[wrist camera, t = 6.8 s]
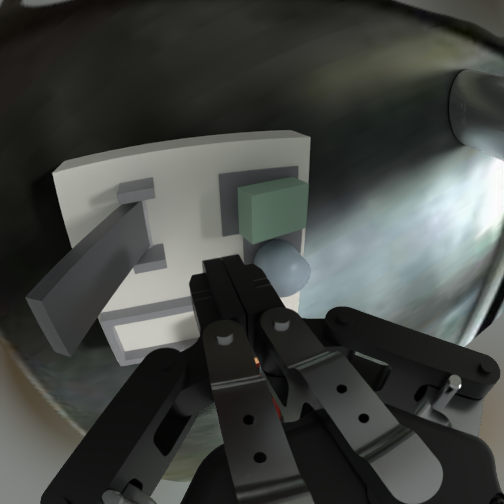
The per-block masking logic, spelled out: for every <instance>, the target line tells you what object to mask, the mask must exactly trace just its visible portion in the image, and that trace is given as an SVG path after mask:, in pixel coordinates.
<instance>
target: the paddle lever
mask: <svg viewBox="0 0 504 504" xmlns="http://www.w3.org/2000/svg"><path fill="white" fill-rule="evenodd" d="M149 246H150V243H149V238H148V233H147V228H146V222H145V217H144V211H143V205H142V201H137V202H132V203H127V204H122V205H120V206H119V207H118V208H117V209H116V210H114V211H113V212H112V213H111V214H110V215H109V216H108V217H106V218H105V219H104V220H103V221H102V222H101V223H100V224H99V225H97V226H96V227H95V228H94V229H93V230H92V231H91V232H90V233H89V234H88V235H86V236H85V237H84V238H83V239H82V240H81V241H80V242H79V243H78V244H77V245H76V246H75V247H74V248H73V249H72V250H71V251H70V252H68V253H67V254H66V255H65V256H64V257H63V258H62V259H61V260H60V261H59V262H58V263H57V264H56V265H55V266H54V267H53V268H52V269H51V270H50V271H49V272H48V273H47V275H46V276H45V277H44V278H43V279H42V280H41V281H40V282H39V283H38V284H37V285H36V286H35V287H34V288H33V289H32V290H31V292H30V293H29V294H28V295H27V296H26V297H25V298H26V300H27V302H28V304H29V306H30V308H31V310H32V312H33V314H34V316H35V318H36V320H37V321H38V323H39V325H40V327H41V329H42V331H43V332H44V334H45V336H46V338H47V339H48V341H49V343H50V345H51V346H52V348H53V350H54V351H55V352H57V353H60V354H63V355H66V356H69V357H72V355H73V354H74V352H75V350H76V349H77V347H78V346H79V344H80V343H81V341H82V340H83V338H84V337H85V335H86V334H87V332H88V331H89V329H90V328H91V326H92V325H93V323H94V322H95V320H96V319H97V317H98V316H99V314H100V313H101V312H102V310H103V309H104V307H105V306H106V304H107V303H108V302H109V300H110V299H111V297H112V296H113V295H114V293H115V292H116V290H117V289H118V288H119V286H120V285H121V284H122V282H123V281H124V279H125V278H126V277H127V275H128V274H129V273H130V271H131V270H132V269H133V267H134V266H135V265H136V263H137V262H138V261H139V259H140V258H141V257H142V256H143V254H144V253H145V252H146V250H147V249H148V248H149Z"/></svg>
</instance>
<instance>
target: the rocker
mask: <svg viewBox="0 0 504 504" xmlns="http://www.w3.org/2000/svg"><path fill="white" fill-rule="evenodd" d="M308 191H309V184H308V183H306V182H304V181H302V180H299V179H297V178H295V177H288V178H283V179H278V180H272V181H267V182H262V183H257V184H252V185H247V186H243V187H238V216H239V234H241V235H242V236H243V237H244V238H245V239H247V240H248V241H249V242H250V243H251V244H255V243H259V242H262V241H265V240H268V239H272V238H275V237H278V236H281V235H284V234H288V233H291V232H294V231H297V230H301V229H304V228H306V221H307V206H308Z"/></svg>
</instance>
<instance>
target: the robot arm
mask: <svg viewBox="0 0 504 504" xmlns="http://www.w3.org/2000/svg"><path fill="white" fill-rule="evenodd" d="M449 115H450V122H451V127H452V130H453V132H454V134H455V136H456V138H457V139H458V140H459V141H460V142H461V143H462V144H464V145H467V146H469V147H472V148H474V149H477V150H479V151H482V152H484V153H487V154H489V155H491V156H493V157H495V158H498V159H500V160H502V161H504V77H502V76H498V75H494V74H489V73H485V72H480V71H474V70H467V69H466V70H463V71H462V72H460V73H459V74H458V76H457V77H456V78H455V80H454V83H453V85H452V89H451V93H450V100H449ZM202 268H203V273H200V274H195V275H192V276H191V279H190V282H189V288H190V294H191V300H192V306H193V311H194V315H195V319H196V323H197V327H198V331H199V334H200V337H199V339H198V340H197V342H196V343H195V344H193V345H192V346H191V347H189V348H187V349H185V350H183V351H181V352H180V351H179V350H176V349H174V348H168V347H165V348H159V349H156V350H153V351H152V352H150V353H149V354H148V355H147V356H146V357H145V358H144V359H143V361H142V362H141V363H140V365H139V366H138V367H137V368H136V370H135V371H134V372H133V374H132V375H131V376H130V377H129V379H128V380H127V381H126V383H125V384H124V385H123V387H122V388H121V389H120V391H119V392H118V393H117V394H116V396H115V397H114V398H113V400H112V401H111V402H110V404H109V405H108V406H107V408H106V409H105V410H104V412H103V413H102V414H101V416H100V417H99V418H98V420H97V421H96V422H95V424H94V425H93V426H92V428H91V429H90V430H89V432H88V433H87V434H86V436H85V437H84V438H83V440H82V441H81V443H80V444H79V445H78V446H77V448H76V449H75V450H74V452H73V453H72V454H71V456H70V457H69V459H68V460H67V461H66V463H65V464H64V465H63V467H62V468H61V469H60V471H59V472H58V474H57V475H56V477H55V478H54V479H53V480H52V482H51V483H50V485H49V486H48V488H47V489H46V490H45V492H44V493H43V495H42V497H41V502H40V503H41V504H157V503H156V502H155V501H154V500H153V499H152V498H151V497H150V496H151V494H152V493H153V491H154V490H155V488H156V486H157V484H158V483H159V481H160V480H161V478H162V476H163V475H164V473H165V471H166V470H167V468H168V466H169V464H170V463H171V461H172V459H173V458H174V456H175V454H176V453H177V451H178V449H179V447H180V446H181V444H182V442H183V441H184V439H185V437H186V435H187V434H188V432H189V430H190V428H191V427H192V425H193V423H194V421H195V420H196V418H197V416H198V414H199V410H201V409H203V408H205V407H207V406H208V405H210V404H212V403H214V402H215V407H216V412H217V416H218V421H219V425H220V430H221V434H222V439H223V443H224V444H222V445H220V446H219V447H217V448H216V449H214V450H213V451H212V452H211V453H210V454H209V455H208V456H207V457H206V458H205V459H204V460H203V461H202V463H201V464H200V466H199V467H198V469H197V471H196V473H195V475H194V477H193V479H192V481H191V483H190V485H189V488H188V489H187V491H186V493H185V495H184V497H183V499H182V501H181V503H180V504H504V494H503V493H502V491H501V488H500V485H499V482H498V478H497V473H496V466H495V460H494V456H493V453H492V451H491V449H490V448H489V446H488V445H487V444H486V443H485V442H484V441H483V440H482V439H480V438H479V431H480V424H481V418H482V410H483V402H484V397H485V396H486V395H487V393H488V392H489V391H490V390H491V388H492V387H493V386H494V385H495V384H496V382H497V381H498V380H499V378H500V369H499V366H498V364H497V363H496V361H494V359H493V358H491V357H490V356H488V355H485V354H482V353H479V352H476V351H473V350H470V349H468V348H465V347H462V346H459V345H456V344H453V343H450V342H447V341H444V340H441V339H438V338H435V337H432V336H429V335H426V334H424V333H421V332H418V331H415V330H412V329H409V328H406V327H403V326H401V325H398V324H395V323H392V322H389V321H386V320H384V319H381V318H378V317H375V316H372V315H370V314H367V313H364V312H361V311H358V310H356V309H353V308H350V307H335V308H333V309H331V310H330V311H328V313H327V314H326V317H325V319H306V318H301V317H300V315H299V314H298V313H297V312H295V311H294V310H292V309H289V308H286V307H285V305H284V304H283V302H282V301H281V299H280V297H279V296H278V294H277V292H276V291H275V289H274V288H273V286H272V285H271V283H270V281H269V280H268V279H267V276H266V275H265V273H264V272H263V270H262V269H261V268H259V267H258V266H256V265H255V264H248V265H245V264H244V263H243V261H242V259H241V257H240V255H239V254H235V255H230V256H224V257H221V258H220V257H219V258H213V259H208V260H202ZM355 352H359V353H362V354H364V355H367V356H370V357H372V358H375V359H378V360H380V361H383V362H386V363H387V364H389V365H387V366H385V365H381V364H378V363H375V362H373V361H370V360H367V359H365V358H362V357H359V356H357V355H355ZM254 358H257V359H258V361H259V363H260V374H261V376H260V374H259V371H258V368H257V365H256V362H255V359H254ZM270 393H271V394H272V396H273V398H274V400H275V401H276V403H277V405H278V407H279V408H280V410H281V412H282V415H283V418H284V423H281V422H280V419H279V416H278V413H277V411H276V408H275V405H274V402H273V399H272V396H271V394H270Z"/></svg>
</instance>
